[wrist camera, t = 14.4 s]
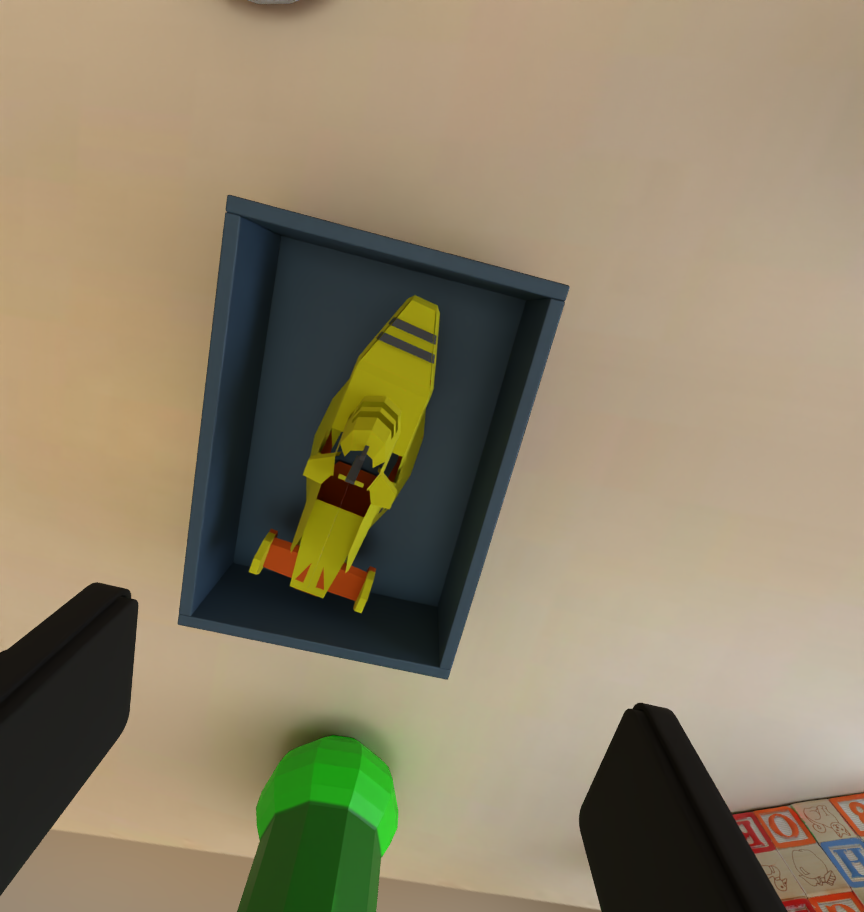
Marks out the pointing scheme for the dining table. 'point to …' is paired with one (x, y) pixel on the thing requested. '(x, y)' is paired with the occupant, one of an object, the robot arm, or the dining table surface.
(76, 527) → the dining table surface
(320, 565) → the yellow toy submarine
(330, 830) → the plastic bottle
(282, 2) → the donut
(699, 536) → the dining table surface
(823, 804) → the stack of blocks
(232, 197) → the tote
